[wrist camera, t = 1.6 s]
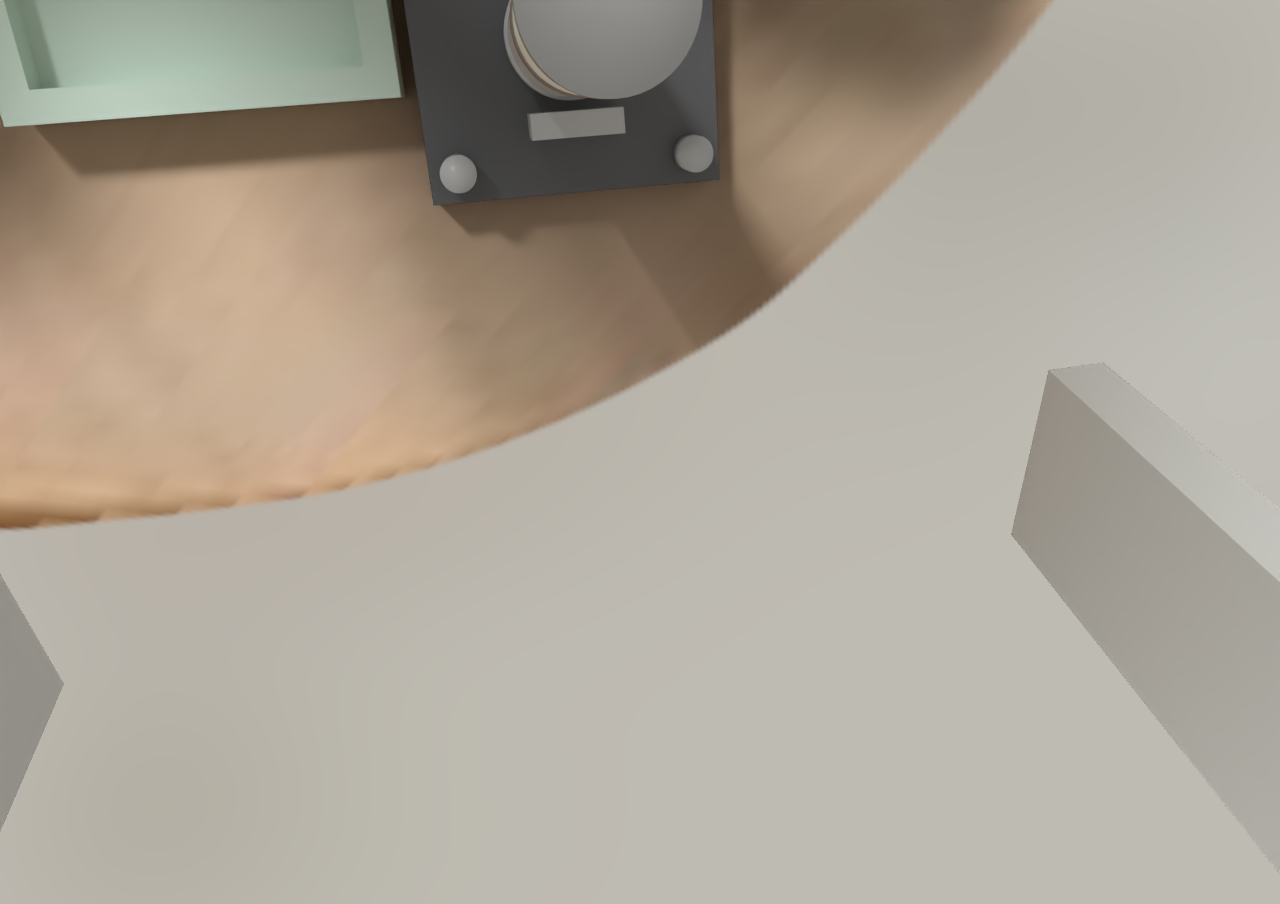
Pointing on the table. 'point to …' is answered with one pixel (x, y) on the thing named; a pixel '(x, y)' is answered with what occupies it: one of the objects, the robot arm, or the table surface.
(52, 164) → the table surface
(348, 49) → the tray
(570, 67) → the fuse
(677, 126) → the block
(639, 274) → the table surface
